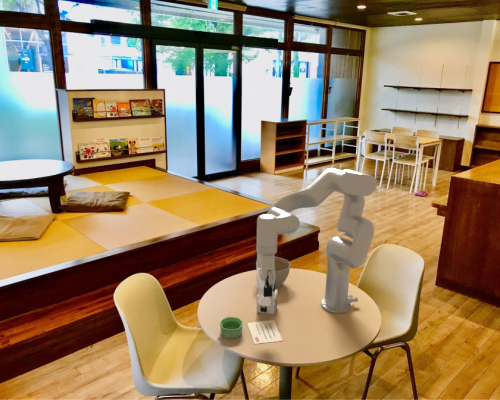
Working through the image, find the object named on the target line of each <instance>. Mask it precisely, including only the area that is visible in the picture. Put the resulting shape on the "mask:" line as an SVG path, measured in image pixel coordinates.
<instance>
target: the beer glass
mask: <svg viewBox="0 0 500 400" xmlns="http://www.w3.org/2000/svg"><path fill="white" fill-rule="evenodd" d="M266 279H268V275H267V277H266ZM268 282H269V281H266V283H268ZM274 283H275V276H274V279H273V288H274ZM256 284H257V285H256V286H257V291H258V292H257V295H258V299H257V298H256V304H257V303H258V304H259V305H261V306H270V305H272V304H273V297H272V296H270V297H264V287H265V284H264V280H263V281H262V280H261V279H260V268H259V267H258V266H257V270H256ZM273 288H272V292H273Z"/></svg>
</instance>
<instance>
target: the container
mask: <svg viewBox="0 0 500 400" xmlns="http://www.w3.org/2000/svg"><path fill="white" fill-rule="evenodd" d="M278 292H279V291H278V289H276V288H275V283H274V288H273V292H272V297H273V304H272V305H270V306H261V305H259V304H258V303H257V302H256V313H259V314H268V315H275V314H276V310H277V307H278ZM257 299H258V294H257V295H256V300H257Z"/></svg>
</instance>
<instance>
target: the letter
mask: <svg viewBox="0 0 500 400" xmlns="http://www.w3.org/2000/svg"><path fill="white" fill-rule="evenodd" d="M246 324H247V328H248V330H249V332H250V335H251V338H252V341H253V344H254V345H260V344H267V343H268V344H269V343H274V342H275V343H276V342H283V341H284V340H283V338H282V335H281V333H280V331H279V330H278V326H277V325H276V322H275V320H274V319H272V320H262V321H254V322H253V321H252V322H247V323H246Z"/></svg>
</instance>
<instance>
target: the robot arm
mask: <svg viewBox="0 0 500 400" xmlns="http://www.w3.org/2000/svg"><path fill="white" fill-rule="evenodd" d="M377 184H378V183H377V180H376V178H375V177H374V176H373V175H372V174H369V173H365V172H362V171H358V170H355V169H349V168H345V169H340V168H335V167H328V168H325V170H324V171H322V172H321V173H320V174H318V175H317V176H316V177H315V178H314V179H313V180H312V181H311V182H310V183H308V184H307V185H306V187H305V186H304V188H302V189H300V190H297V191H294V192H292V193H289V194H287V195H285V196H283V197H281V198H280V199H279V200H277V201H276V202H275V203H274V204H273V205H272V206H271V207H270V208H269V209H268V211H267V212H266V213H262V214H260V215H258V217H257V219H256V249H255V250H256V262H257V266H258V267H259V268H260V279H261V280H262V281H263V280H264V284H265V287H264V297H270V296H272V288H273V279H274V276H275V257H276V256H275V255H276V254H277V252H278V235H291V234H293V233H294V234H295V232H297V231H298V230H299V229H300V224H301V223H300V219H299V218H298V217H297V216H296V215H295V214H293V213H291V212H293V211H295V210H299V209H304V208H305V209H307V208H315V207H318V206H320V205H321V204H322V203H323V202H325V200H327V198H329V197H330V196H331V195H332V194H333V193H334V192H336V193H339V194H341V195H342V194H343V202H342V206H341V209H340V213H339V216H338V219H337V223H336V230H337V231H338V232H339V233H340V234H342V235H344V236H346V237H348V238H350V239H352V240H350V239H347V238H345V237H343V236H339V235H335V236H332V237H330V238H329V239H328V241H327V243H326V246H325V253H326V261H327V264H326V265H327V266H326V280H325V292H324V298H322V299H321V301H320V306H321V308H322V309H324V310H325V311H327V312H330V313H334V314H344V313H346V312H349V310H351V303H357V302H359V299H358V297H357V296H355V297H354V296H353V295H352V294H351V295H349V284H350V275H351V268H352V269H358V268H360V267H362V266H363V265H364V263H365V262H366V259H367V256H368V253H369V250H370V247H371V244H372V242H373V238H374V235H375V226H374V223H373V222H372V221H371V220H370V219H369V218H366V217H363V211H364V208H365V203H366V201H365V197H369V196H371V195H372V194H374V192H375V191H376V188H377ZM257 266H256V265H255V267H256V271H257ZM267 275H268V279H266V277H267ZM266 281H269V282H268V283H266Z"/></svg>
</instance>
